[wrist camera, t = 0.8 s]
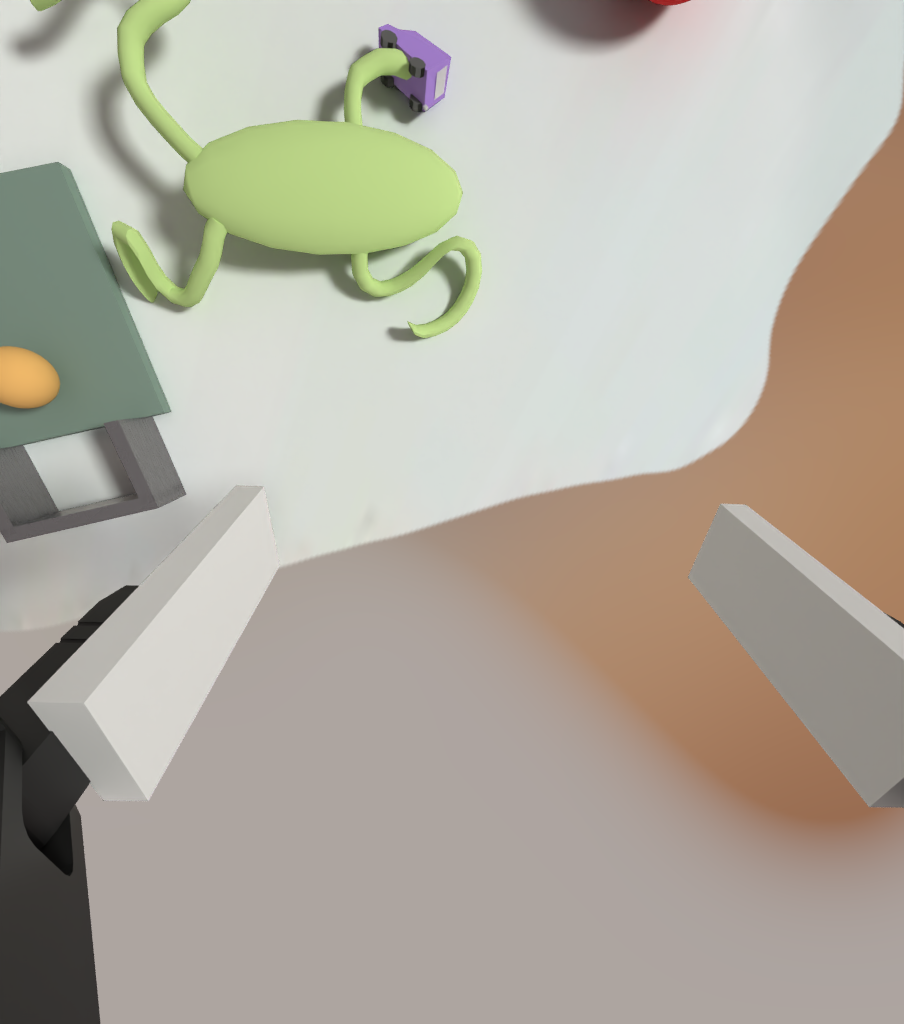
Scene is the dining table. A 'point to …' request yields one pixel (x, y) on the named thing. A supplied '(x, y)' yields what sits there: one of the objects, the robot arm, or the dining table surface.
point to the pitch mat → (66, 311)
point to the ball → (26, 378)
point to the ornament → (668, 2)
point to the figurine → (308, 175)
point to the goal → (31, 511)
